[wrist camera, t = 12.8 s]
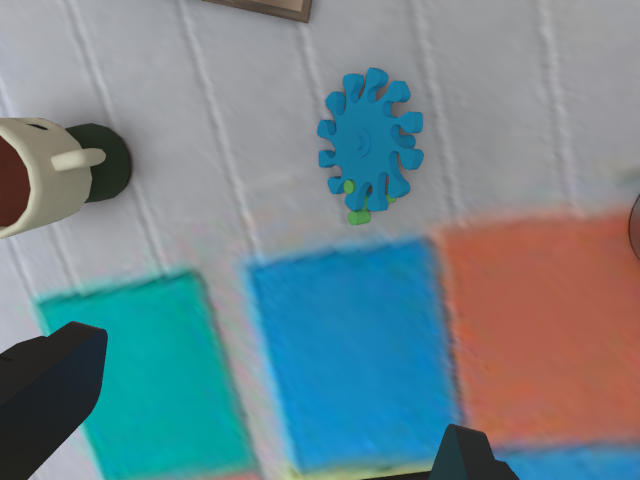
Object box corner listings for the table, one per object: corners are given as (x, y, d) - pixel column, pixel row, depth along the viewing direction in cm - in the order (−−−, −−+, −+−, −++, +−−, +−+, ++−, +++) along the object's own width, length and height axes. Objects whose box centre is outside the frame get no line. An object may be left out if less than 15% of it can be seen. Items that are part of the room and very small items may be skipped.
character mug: (145, 103, 39) (40, 94, 27) (171, 189, 41) (84, 220, 28) (25, 135, 41) (-127, 141, 28) (55, 217, 42) (-77, 257, 30)
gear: (321, 58, 36) (426, 79, 29) (377, 65, 39) (483, 85, 32) (301, 201, 40) (388, 249, 33) (354, 195, 43) (443, 238, 37)
